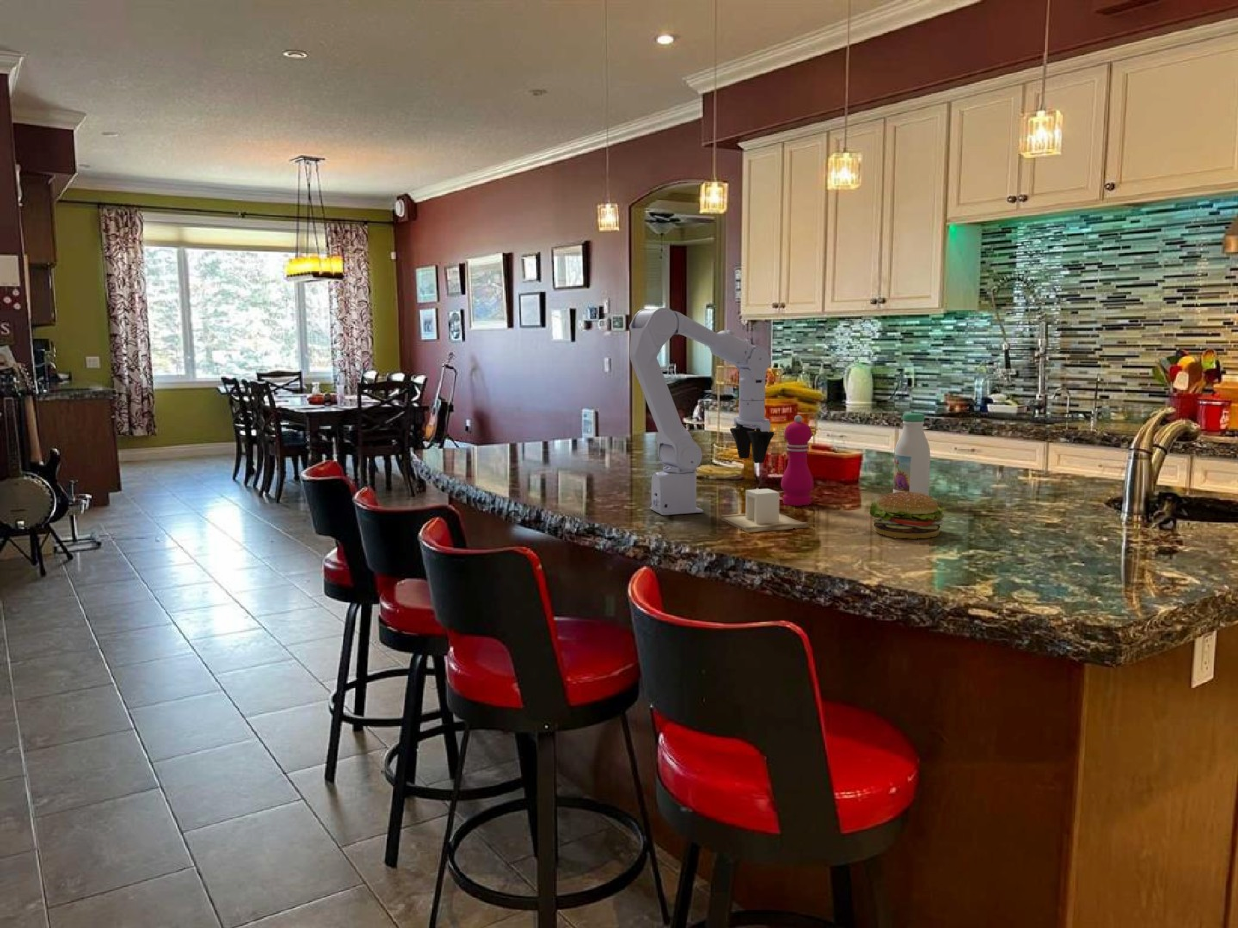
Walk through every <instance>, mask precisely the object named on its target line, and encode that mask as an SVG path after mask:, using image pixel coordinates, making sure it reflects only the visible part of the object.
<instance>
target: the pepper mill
mask: <svg viewBox="0 0 1238 928" xmlns="http://www.w3.org/2000/svg"><path fill="white" fill-rule="evenodd" d="M793 420H794V422H791V423H789V424H787V426H786V427H785V430H784V438H785V440H786V441H787V442H788V443H786V451H788V452H787V453H788V463H787V466H786V469H785V471H784V473H783V474H782V477H781V482H780V486H781V487H780V488H781V489H782V490H783V491H784V494H783V495H782V503H783V504H784V505H786V506H792V505H793V506H794V507H801V506H802V505H805V506H809V504H810V505H811V504H812V495H810V494H809V493H811V492H812V490H813V489H814V478H813V476H812V473H811V471H810V469H809V466H808V459H807V457H808V452H809V451H810V448H809V447H810V444H809V441H810V440H811V439H812V437H813V433H812V428H811V426H810V425H808V424H807V423H805V422H803V417H802V416H801V415H795V416H794V419H793ZM802 507H803V506H802Z"/></svg>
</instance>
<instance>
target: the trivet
mask: <svg viewBox="0 0 1238 928" xmlns="http://www.w3.org/2000/svg"><path fill="white" fill-rule="evenodd" d="M719 519H721V520H720V521H723V522H724V521H726V522H728V523H727V524H729V525H731V526H733V527H735V528H737V529H739V528H740V529H739V530H741V529H742V531H743V530H744V532H746V533H756V532H757V533H758V532H769V531H782V530H783V531H784V530H791V529H792V530H793V528H795V529H805V528H808V522H806V521H804V522H803V521H800V520H797V519H794V518H792V517H789V516H787V515H784V514H783V513H780V512H779V522H773V523H761V524H755V523H754V519H753V520H746V519H745V513H734V514H722V515H721V514H720V517H719ZM726 522H725V523H726Z"/></svg>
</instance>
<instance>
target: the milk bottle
mask: <svg viewBox="0 0 1238 928" xmlns="http://www.w3.org/2000/svg"><path fill="white" fill-rule="evenodd" d="M902 424H903V428H902V431H901V434H900V436H899V438H898V440H897V442H896V445H895V449H894V457H893V458H894V459H893V479H892V481H893V484H892V486H893V487H892V489H893V490H892V493H895V492H916V493H921V494H925V495H928V496H929V497H930V478H931V476H930V475H931V473H930V472H931V449H930V448H931V447H930V445H929V441H928V439H927V437H926V435H925V434H926V433H925V431H924V424H925V414H923V413H918V412H909V413H908V412H906V413H903V414H902Z"/></svg>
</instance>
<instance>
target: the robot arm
mask: <svg viewBox="0 0 1238 928" xmlns="http://www.w3.org/2000/svg"><path fill="white" fill-rule="evenodd" d="M628 327H629V332H630V341H629V355H628V356H629V359H630V363H631V365H632V368H633V370H634V373H635V375H636V378H637V380H638V381H637V382H639V385H640V388H641V391H642V393H643V396H644V399H645V401H646V403H647V406H648V409H649V411H650V413H651V417H652V420H653V422H654V423H655V427H656V429H657V431H658V433H657V435H656V438H655V440H656V443H657V456H658V457H657V458H658V459H659V461H660V462H661V464H662V471H659V472H657V471H656V472H654V473H653V474H652V477H651V481H650V483H651V486H650V487H651V488H650V489H651V495H650V496H651V499H650V501H651V506H650V510H652V511H654V512H656V513H658V514H659V515H662V516H670V515H683V514H696V513H697V514H698V513H704V509H702V508H699V507H697V471H698V469H697V468H699V466H700V465H701V463H702V460H703V451H702V449H701V447H700V446H699V444H698V443H697V442H696V441H695V440H694V439H693V437H692V434H691V432H689V430H687V428H685V426H684V425H683V424H682V421H681V418H680V415H679V412H678V409H677V407H676V405H675V402H674V399H673V397H672V394H671V392H670V389H669V386H668V383H667V381H666V378H665V375H664V373H663V370H662V368H661V365H660V363H659V360H658V356H659V355H660V352H661V351H662V348H663V346H664V345H666V343H667V342H668V341H669V340H670V339H671V338H672V337H673V336H674V335H681V336H684V337H685V338H688V339H691V340H693V341H695V342H698V343H700V344H702V345H704V346H708V347H709V351H710V353H711V354H712V355H713V356H715V357H717V358H719V359H721V360H722V361H726V362H727V363H729V364H732V365H734V366H735V368H736V369H737V370H738V373H739V375H738V416H735V417H733V426H735V427H730V428H729V431H730V433H731V434H732V437H733V440H734V442H735V446H736V450H737V454H738V455H737V456H738V458H739V460H740V459H741V460H743V459H749V458H750V454H751V452H752V459H753V463H754V464H764V463H765V459H766V455H767V451H768V448H769V445H770V443H771V440H772V439H773V437H774V436H775V431H771V421H770V419H769V418H765V417H766V414H765V407H766V406H765V405H766V377H767V371H768V369H769V367H770V365H771V363H772V358H771V357H770V356H769V352H768V351H767V349H766V348H765V347H763V346H761V345H753V344H752V343H751V342H752V341H751V340H749V339H742V338H741V337H738V336H736V335H735V332H734V331H733V330H731V329H729V330H728V329H727V330H720V331H718V332H716V331H713V330H712V329H710V328H709V327H706V326H705V325H703V324H700V323H699V322H697V321H695V320H694V319H692V318H689V316H686V315H684V314H683V313H681V312H679V311H676V310H672V309H671V308H669V307H666V306H665V307H659V308H651V309H650V308H643V309H640V310H638V311H637V312H636V313H635V314H634V316H633V317H632V320H631V322H630V324H629V326H628ZM751 450H752V451H751Z"/></svg>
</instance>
